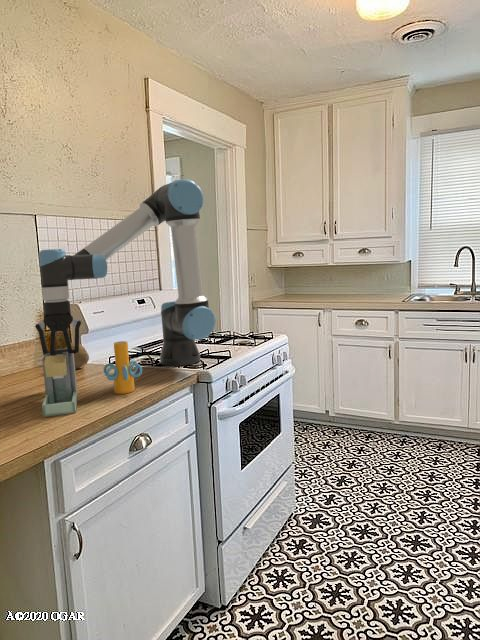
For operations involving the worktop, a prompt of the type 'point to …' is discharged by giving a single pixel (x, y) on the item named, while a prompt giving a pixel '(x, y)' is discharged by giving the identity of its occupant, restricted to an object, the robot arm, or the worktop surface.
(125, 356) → the cylinder
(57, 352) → the shaft
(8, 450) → the worktop surface
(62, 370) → the block
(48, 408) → the tray
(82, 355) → the natural sponge
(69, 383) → the housing
